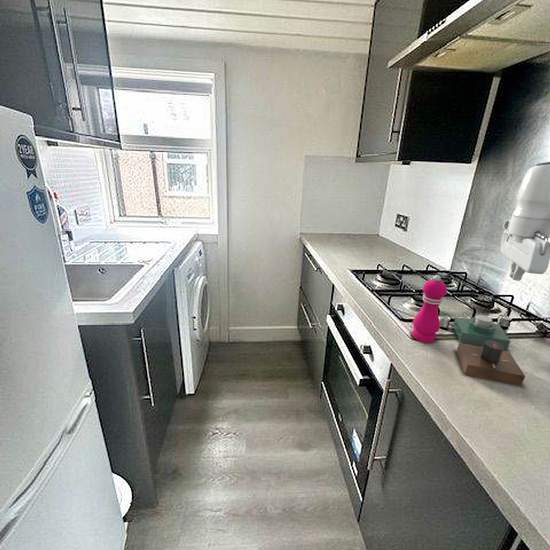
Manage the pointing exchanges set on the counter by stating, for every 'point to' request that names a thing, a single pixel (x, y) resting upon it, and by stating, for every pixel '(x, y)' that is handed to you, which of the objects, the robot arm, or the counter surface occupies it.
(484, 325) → the pump
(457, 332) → the dispenser
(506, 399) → the counter surface
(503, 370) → the lock base
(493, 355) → the lock dial
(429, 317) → the pepper mill
